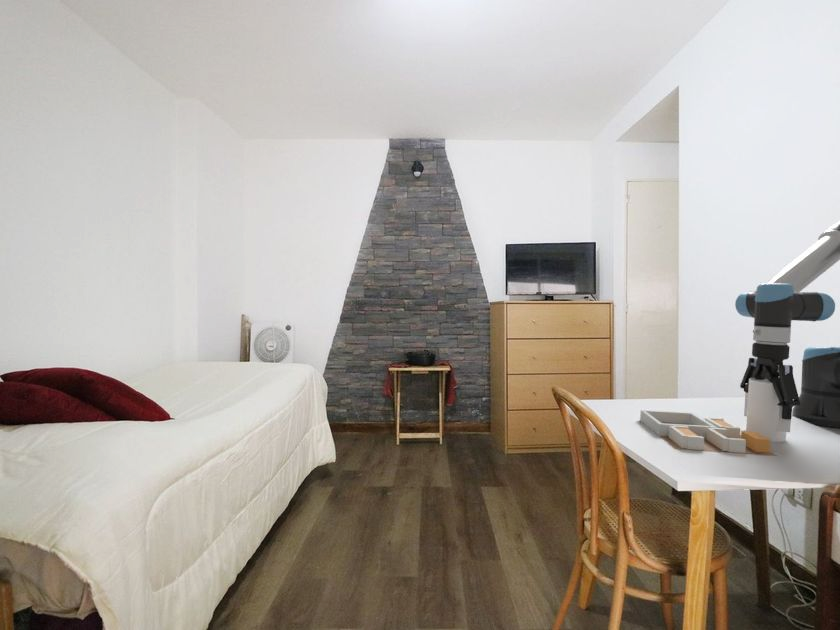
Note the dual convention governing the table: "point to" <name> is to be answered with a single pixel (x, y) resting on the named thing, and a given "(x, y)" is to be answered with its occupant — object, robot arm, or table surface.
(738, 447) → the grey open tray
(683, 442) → the side clips
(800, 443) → the table surface
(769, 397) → the cup
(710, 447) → the panel
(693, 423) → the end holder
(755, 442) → the block
